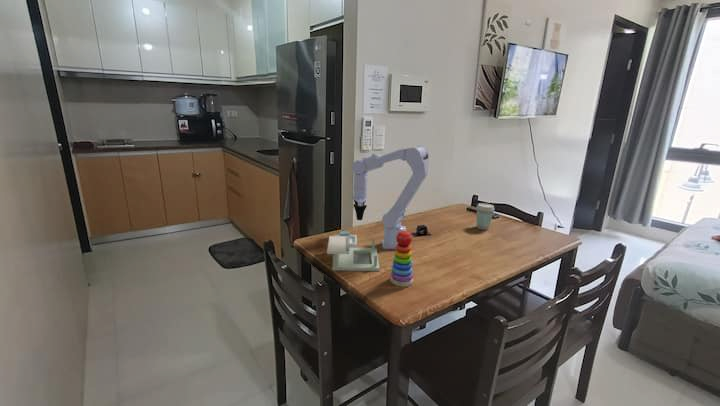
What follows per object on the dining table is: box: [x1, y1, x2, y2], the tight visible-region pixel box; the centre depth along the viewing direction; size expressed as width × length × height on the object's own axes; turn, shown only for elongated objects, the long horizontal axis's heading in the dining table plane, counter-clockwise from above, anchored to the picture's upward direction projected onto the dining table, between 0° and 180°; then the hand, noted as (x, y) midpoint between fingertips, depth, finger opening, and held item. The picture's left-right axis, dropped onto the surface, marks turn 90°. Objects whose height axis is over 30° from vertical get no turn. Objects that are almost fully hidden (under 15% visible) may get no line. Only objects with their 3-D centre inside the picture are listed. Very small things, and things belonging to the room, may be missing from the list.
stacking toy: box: [389, 230, 414, 288], centre depth 113 cm, size 8×8×19 cm
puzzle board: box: [331, 238, 381, 272], centre depth 130 cm, size 17×18×6 cm
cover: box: [326, 235, 350, 255], centre depth 129 cm, size 8×15×1 cm, turn 1°
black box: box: [410, 224, 433, 238], centre depth 160 cm, size 12×7×5 cm, turn 109°
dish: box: [333, 233, 358, 248], centre depth 147 cm, size 10×10×2 cm
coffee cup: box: [476, 202, 495, 231], centre depth 169 cm, size 8×8×12 cm
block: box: [339, 230, 351, 236], centre depth 146 cm, size 4×4×4 cm
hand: (359, 217), depth 150 cm, fingers open, 7 cm apart
